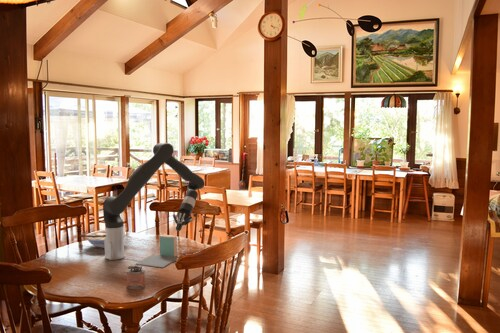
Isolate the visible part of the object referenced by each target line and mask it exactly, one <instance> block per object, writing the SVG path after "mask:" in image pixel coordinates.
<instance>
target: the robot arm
mask: <svg viewBox="0 0 500 333" xmlns="http://www.w3.org/2000/svg"><path fill="white" fill-rule="evenodd" d="M174 150H175V149H174V146H173V145H172V144H171V143H168V142H159V143H156V144H154V146H153V149H152V152H153V156H152V157H151V158H150V159H148V160H147V161H145V162H144V163H142V164H141V165H139V166H138V167H137V168H136V169H135V170H134V171H133V172H132V173H131V175H130V176H129V177H128V180H127V182H126V185H125V187H124V189H123V190H122V191H121V192H120V193H119V194H118V195H117V196H115V195H113V196H108V197H106V198H105V199H104V200H103V203H102V213H103V214H102V215H103V222H104V224H105V230H106V241H104V246H105V248H104V259H106V260H108V261H109V260H110V261H117V260H121V259H124V258H125V237H124V231H125V229H124V228H125V227H124V220H123V218H122V217H121V214H123V212H124V211H126V209H127V207H128V206H129V205H130V203H131V202H132V200H133V199H134V198H135V197H136V196H137V194H139V192H140V191H141V190H142V189H143V188H144V186H145V185H146V184H147V183H148V182H149V181H150V180H151V178H152V177H153V176H154V175H155V174H156V172H157V171H158V170H159V169H160V168H161V167H162V166H163V165H164V164H165V165H167V166H169V167H170V169H172V170H173V171H174V172H175V173H176V174H177V175H178V176H179V177H181V179H182V180H183V181H185V182H187V189H186V192H185V193H186V194H185V195H184V198H183V200H182V202H181V204H180V207H179V210H178V212H177V213H176V214H172V217H173V218H172V219H173V220H174V223H175V224H176V226H175V230H176V231H177V232H180V231H181V230H182V229H183V227H184V226H187V225H188V224H190V223H191V222H192V221H193V220H194V218H193V217H192V216H191V215H192V212H193V210H194V208H195V205H196V201H197V199H198V195H199V194H198V191H197V190H202V189H203V188H204V187H205V184H206V183H205V180H204V179H203V178H202V177H201V176H200V175H199V174H197V173H194V172H193V171H192V170H191V169H190V168H189V167H188V166H187V165H186V164H185V163H183V162H182V161H179V160H178V159H177V158H175V156H173V154H174Z"/></svg>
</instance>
